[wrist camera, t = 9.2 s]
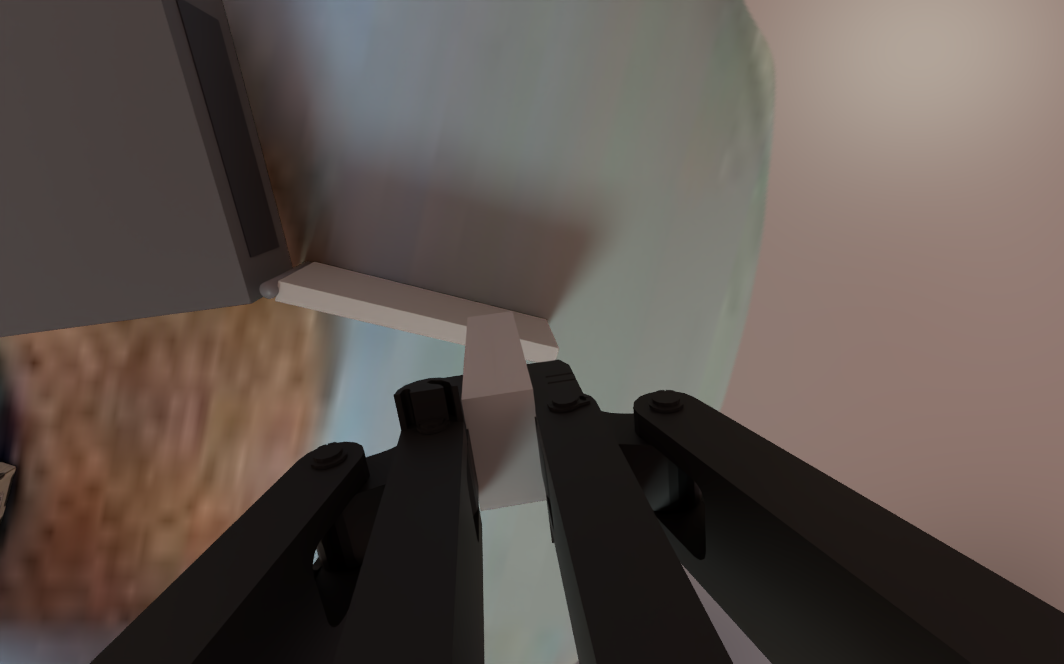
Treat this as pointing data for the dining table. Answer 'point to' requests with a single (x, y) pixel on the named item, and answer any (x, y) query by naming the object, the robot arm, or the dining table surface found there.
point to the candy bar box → (5, 485)
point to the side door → (398, 306)
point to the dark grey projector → (127, 165)
